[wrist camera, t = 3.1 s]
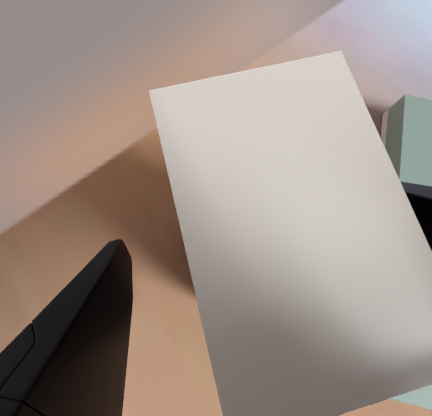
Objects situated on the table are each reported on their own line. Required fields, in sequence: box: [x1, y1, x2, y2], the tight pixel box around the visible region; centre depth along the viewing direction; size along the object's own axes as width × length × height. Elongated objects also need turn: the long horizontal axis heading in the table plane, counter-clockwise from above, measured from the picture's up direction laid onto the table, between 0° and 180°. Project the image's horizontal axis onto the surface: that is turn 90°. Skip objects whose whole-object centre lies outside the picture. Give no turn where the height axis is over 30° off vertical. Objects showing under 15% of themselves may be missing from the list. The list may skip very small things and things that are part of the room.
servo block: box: [149, 51, 432, 416], centre depth 10 cm, size 6×4×12 cm, turn 14°
